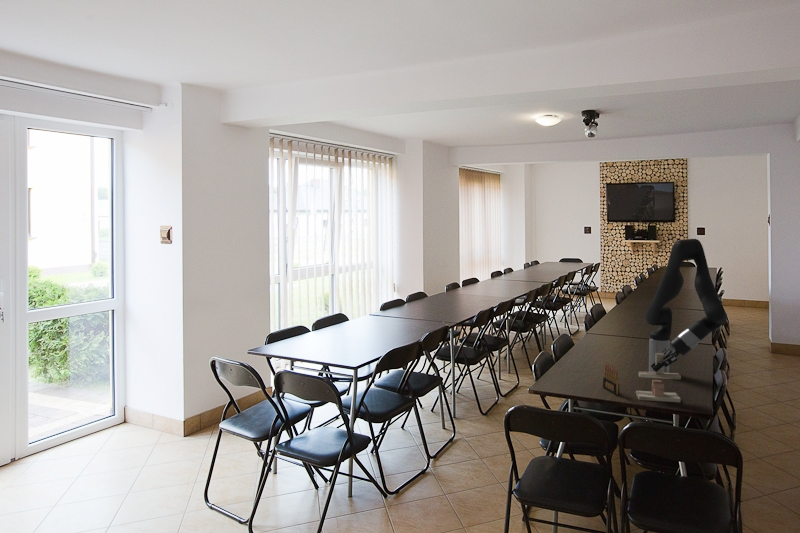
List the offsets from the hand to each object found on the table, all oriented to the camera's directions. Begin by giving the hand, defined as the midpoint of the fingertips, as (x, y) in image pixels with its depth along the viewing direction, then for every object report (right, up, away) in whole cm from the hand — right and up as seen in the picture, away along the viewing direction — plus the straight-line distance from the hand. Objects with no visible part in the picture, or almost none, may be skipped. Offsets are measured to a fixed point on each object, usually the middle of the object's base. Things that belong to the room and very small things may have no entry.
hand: (653, 368), depth 234 cm
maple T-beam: (+2, -3, 0) cm, 4 cm away
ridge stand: (+2, -13, +1) cm, 13 cm away
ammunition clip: (-14, -12, +11) cm, 21 cm away
